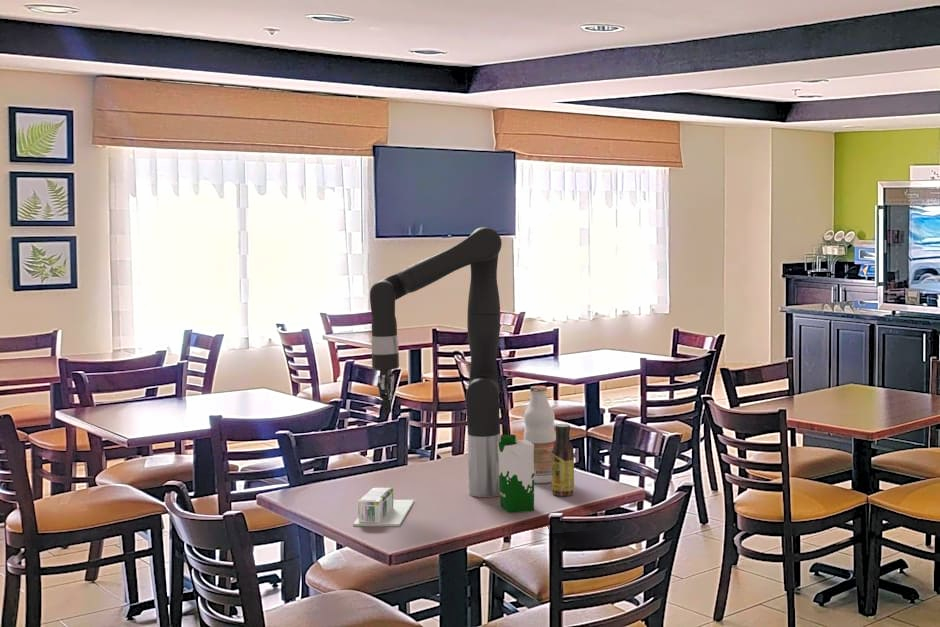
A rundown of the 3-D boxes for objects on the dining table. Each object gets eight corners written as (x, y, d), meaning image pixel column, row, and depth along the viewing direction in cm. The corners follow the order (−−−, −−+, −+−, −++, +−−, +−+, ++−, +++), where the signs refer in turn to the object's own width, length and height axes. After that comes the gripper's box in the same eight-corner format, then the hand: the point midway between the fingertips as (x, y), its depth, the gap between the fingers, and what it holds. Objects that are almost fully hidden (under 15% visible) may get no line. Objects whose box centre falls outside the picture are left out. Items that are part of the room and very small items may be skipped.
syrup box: (394, 508, 284) (380, 523, 270) (372, 507, 285) (358, 522, 271) (393, 487, 284) (379, 501, 269) (372, 487, 285) (357, 500, 270)
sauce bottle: (549, 492, 299) (547, 423, 297) (570, 491, 300) (569, 421, 298) (555, 498, 292) (554, 427, 291) (577, 496, 294) (576, 426, 292)
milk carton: (496, 506, 285) (494, 433, 284) (527, 503, 288) (526, 430, 286) (506, 514, 277) (504, 439, 275) (539, 511, 280) (537, 436, 278)
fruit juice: (518, 480, 314) (516, 387, 312) (539, 474, 320) (537, 383, 318) (541, 485, 307) (539, 390, 305) (563, 479, 314) (561, 386, 311)
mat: (414, 501, 292) (414, 499, 292) (399, 526, 269) (399, 524, 269) (371, 501, 294) (371, 499, 294) (353, 526, 270) (353, 523, 270)
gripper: (394, 354, 288) (396, 417, 290) (402, 348, 301) (404, 408, 303) (367, 354, 289) (369, 417, 290) (376, 349, 302) (378, 409, 303)
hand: (387, 412), depth 297 cm, fingers closed
